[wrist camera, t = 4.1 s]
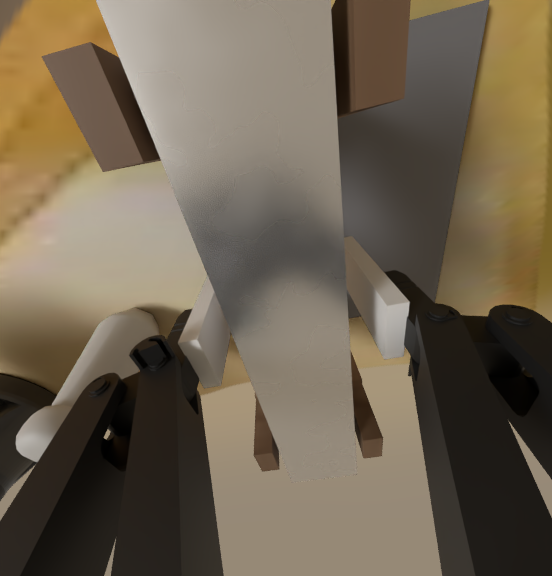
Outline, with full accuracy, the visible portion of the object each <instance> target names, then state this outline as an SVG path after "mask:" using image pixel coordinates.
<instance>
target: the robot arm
mask: <svg viewBox="0 0 552 576" xmlns="http://www.w3.org/2000/svg"><path fill="white" fill-rule="evenodd" d="M344 247H345V265H346V283H347V290H348V292H349V294H350V296H351V298H352V300H353V301H354V303H355V305H356V307H357V309H358V311H359V313H360V315H361V316H362V318H363V320H364V322H365V324H366V326H367V328H368V330H369V332H370V333H371V335H372V337H373V339H374V341H375V343H376V345H377V347H378V348H379V350H380V352H381V354H382V356H383V358H384V360H385V359H391V358H397V357H403V356H404V349H405V347H406V349H407V350H408V352H409V353H410V355H411V358H410V365H409V374H408V376H411V375H412V381H413V387H414V394H415V400H416V406H417V413H418V420H419V426H420V433H421V439H422V445H423V452H424V459H425V465H426V471H427V478H428V485H429V491H430V498H431V504H432V511H433V517H434V524H435V530H436V537H437V543H438V550H439V556H440V563H441V569H442V576H552V518H551V516H550V513H549V511H548V509H547V507H546V504H545V502H544V500H543V498H542V495H541V493H540V491H539V489H538V487H537V484H536V482H535V480H534V478H533V475H532V473H531V471H530V469H529V466H528V464H527V462H526V459H525V457H524V455H523V453H522V451H521V448H520V446H519V444H518V442H517V439H516V437H515V435H514V433H513V430H512V428H511V426H510V424H509V422H510V423H511V424H512V426H513V427H514V428H515V430H516V431H517V432H518V434H519V435H520V436H521V438H522V439H523V441H524V442H525V443H526V445H527V446H528V448H529V449H530V450H531V452H532V453H533V454H534V456H535V457H536V459H537V460H538V461H539V463H540V464H541V465H542V467H543V468H544V469H545V471H546V472H547V474H548V475H549V476H550V478H551V479H552V323H551V322H550V321H548V320H547V319H546V318H544V317H543V316H542V315H540V314H539V313H537V312H535V311H533V310H531V309H528V308H525V307H521V306H516V305H499V306H495V307H493V308H492V309H491V310H490V312H489V315H488V317H486V316H465V315H460V313H459V312H458V311H457V310H455V309H454V308H452V307H450V306H447V305H444V304H437V303H434V302H433V301H432V300H431V299H430V298H429V297H428V296H427V295H426V294H425V293H424V292H423V291H422V290H421V289H420V288H419V287H417V285H416V284H415V283H414V282H412V281H411V279H410V278H409V277H408V276H407V275H406V274H404V273H401V272H399V271H397V270H392V271H387V272H383V271H382V270H381V269H380V267H379V266H378V265H377V264H376V263H375V262H374V261H373V259H372V258H371V257H370V256H369V255H368V254H367V253H366V251H365V250H364V249H363V248H362V247H361V246H360V245H359V243H358V242H357V241H356V240H355V239H354V238H353V237H352V236H350V237H345V238H344ZM230 335H231V331H230V329H229V326H228V324H227V321H226V319H225V317H224V314H223V312H222V309H221V307H220V304H219V302H218V299H217V297H216V294H215V292H214V289H213V287H212V285H211V282H210V280H209V277H208V275H207V277H206V280H205V282H204V284H203V287H202V289H201V291H200V293H199V296H198V298H197V300H196V302H195V305H194V307H193V309H189V310H185V311H184V312H183V313H182V314H181V315H180V316H179V317H178V318H177V320H176V322H175V324H174V326H173V328H172V330H171V332H170V334H169V336H168V338H167V340H166V338H165V337H164V336H162V335H154V336H151V337H148V338H146V339H144V340H142V341H141V342H139V343H138V344H137V345H136V346H135V347H134V348H133V349H132V350H131V352H130V354H129V356H130V358H131V359H132V360H133V362H134V363H135V364H136V366H137V367H138V368H139V370H140V372H138V373H135V374H133V375H131V376H128V377H126V378H123V379H121V378H120V376H119V375H118V374H116V373H107V374H104V375H102V376H100V377H98V378H96V379H95V380H93V381H92V382H91V383H90V384H89V385H87V386H86V388H85V389H84V390H83V391H82V393H81V394H80V396H79V397H78V399H77V401H76V402H75V404H74V405H73V407H72V408H71V410H70V412H69V413H68V415H67V416H66V418H65V420H64V421H63V423H62V424H61V426H60V427H59V429H58V431H57V432H56V434H55V435H54V437H53V439H52V440H51V442H50V443H49V445H48V446H47V448H46V450H45V451H44V453H43V454H42V456H41V457H40V459H39V461H38V462H35V461H32V460H30V459H28V458H26V457H24V456H22V455H21V454H20V453H19V452H18V450H17V449H16V435H17V434H18V432H19V431H20V429H21V427H22V426H23V424H24V423H25V422H26V421H27V420H28V419H29V418H30V417H31V416H32V415H33V414H34V413H36V412H37V411H38V410H40V409H42V408H44V407H45V406H51V405H52V403H53V402H54V400H55V398H56V396H55V395H53V394H52V393H50V392H49V391H47V390H45V389H43V388H41V387H39V386H37V385H34V384H32V383H29V382H27V381H24V380H21V379H17V378H14V377H10V376H5V375H0V501H1V499H2V498H3V497H4V495H5V494H6V493H7V491H8V490H9V489H10V488H11V486H13V484H14V483H16V482H17V481H18V480H19V479H20V478H21V477H22V476H23V475H24V474H26V473H27V472H28V471H29V470H30V469H31V468H32V467H33V466H34V465H35V467H34V469H33V470H32V472H31V473H30V475H29V477H28V478H27V480H26V481H25V483H24V485H23V486H22V488H21V489H20V491H19V493H18V494H17V495H16V497H15V499H14V500H13V502H12V503H11V505H10V507H9V508H8V510H7V511H6V513H5V515H4V516H3V518H2V519H1V521H0V576H104V574H105V571H106V568H107V564H108V561H109V558H110V555H111V552H112V548H113V545H114V542H115V539H116V543H115V550H114V558H113V564H112V571H111V576H223V568H222V560H221V553H220V545H219V537H218V529H217V522H216V514H215V506H214V498H213V491H212V483H211V475H210V467H209V460H208V453H207V444H206V436H205V429H204V421H203V414H202V406H201V398H200V395H199V392H198V391H197V386H198V383H199V381H200V382H201V384H202V386H203V388H210V387H216V386H221V383H222V378H223V373H224V367H225V362H226V357H227V351H228V346H229V341H230ZM508 420H509V421H508ZM107 429H109V430H110V431H111V433H110V435H109V437H108V438H107V440H106V439H104V435H105V433H106V431H107Z"/></svg>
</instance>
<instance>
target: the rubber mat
mask: <svg viewBox="0 0 552 576" xmlns="http://www.w3.org/2000/svg"><path fill="white" fill-rule="evenodd" d="M488 6H489V0H484V1H481V2H477V3H473V4H469V5H466V6H462V7H458V8H455V9H451V10H447V11H443V12H440V13H436V14H432V15H428V16H425V17H421V18H417V19H414V20H410V21H409V33H408V48H407V64H406V80H405V96H404V99H401V100H398V101H394V102H391V103H388V104H384V105H381V106H377V107H374V108H371V109H367V110H364V111H361V112H357V113H354V114H351V115H348V116H344V117H341V118H337V122H338V140H339V158H340V176H341V194H342V212H343V229H344V238H345V237H350V236H352V237H353V238H354V239H355V240H356V241H357V242H358V243H359V245H360V246H361V247H362V248H363V249H364V250H365V251H366V253H367V254H368V255H369V256H370V257H371V258H372V259H373V261H374V262H375V263H376V264H377V265H378V266H379V267H380V269H381V270H382V271H383V272H387V271H392V270H397V271H399V272H401V273H404V274H406V275H407V276H408V277H409V278H410V279H411V281H412V282H414V283H415V284H416V285H417V287H419V288H420V289H421V290H422V291H423V292H424V293H425V294H426V295H427V296H428V297H429V298H430V299H431V300H432V301H433V302H434V303H435V299H436V293H437V288H438V282H439V277H440V271H441V266H442V260H443V255H444V249H445V244H446V238H447V232H448V227H449V221H450V216H451V210H452V205H453V199H454V194H455V188H456V183H457V177H458V172H459V166H460V161H461V155H462V150H463V144H464V138H465V133H466V127H467V122H468V116H469V111H470V105H471V100H472V94H473V89H474V83H475V78H476V72H477V67H478V61H479V56H480V50H481V44H482V39H483V33H484V28H485V22H486V17H487V11H488ZM347 301H348V317H349V318H354V317H359V316H361V315H360V313H359V311H358V309H357V307H356V305H355V303H354V301H353V300H352V298H351V296H350V294H349V292H348V290H347Z"/></svg>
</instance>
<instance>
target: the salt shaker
mask: <svg viewBox="0 0 552 576" xmlns="http://www.w3.org/2000/svg"><path fill="white" fill-rule="evenodd" d="M154 335H159V327H158V325H157V323H156V321H155V319H154V317H153V315H152V314H150V313H148V312H145V311H142V310H140V309H137V308H132V309H129V310H126V311H123V312H119V313H116V314H112V315H110V316H109V317H107V318H106V319H104V320H103V321H102V322H100V323H99V324H98V326H97V328H96V330H95V331H94V333H93V335H92V337H91V338H90V340H89V342H88V343H87V345H86V347H85V349H84V350H83V352H82V354H81V355H80V357H79V359H78V361H77V362H76V364H75V366H74V367H73V369H72V371H71V373H70V374H69V376H68V378H67V379H66V381H65V383H64V385H63V386H62V388H61V390H60V391H59V393H58V395H57V397H56V398H55V400H54V402H53V403H52V405H51V406H45V407H44V408H42V409H40V410H38V411H37V412H36V413H34V414H33V415H32V416H31V417H30V418H29V419H28V420H27V421H26V422H25V423H24V424H23V426H22V427H21V429H20V431H19V432H18V434H17V435H16V449H17V450H18V452H19V453H20V454H21V455H22V456H24V457H26V458H28V459H30V460H32V461H35V462H38V461H39V459H40V457H41V456H42V454H43V453H44V451H45V450H46V448H47V446H48V445H49V443H50V442H51V440H52V439H53V437H54V435H55V434H56V432H57V431H58V429H59V427H60V426H61V424H62V423H63V421H64V420H65V418H66V416H67V415H68V413H69V412H70V410H71V408H72V407H73V405H74V404H75V402H76V401H77V399H78V397H79V396H80V394H81V393H82V391H83V390H84V389H85V388H86V386H87V385H89V384H90V383H91V382H92V381H93V380H95V379H96V378H98V377H100V376H102V375H104V374H107V373H116V374H118V375H119V376H120V378H121V379H123V378H126V377H128V376H131V375H133V374H135V373H137V372H138V371H139V368H138V367H137V366H136V364H135V363H134V362H133V360H132V359H131V358H130V356H129V354H130V352H131V350H132V349H133V348H134V347H135V346H136V345H137V344H138V343H139V342H141V341H142V340H144V339H146V338H148V337H151V336H154Z"/></svg>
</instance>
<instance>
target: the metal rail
mask: <svg viewBox="0 0 552 576" xmlns="http://www.w3.org/2000/svg"><path fill="white" fill-rule="evenodd" d="M96 1H97V4H98V6H99V9H100V11H101V14H102V16H103V19H104V21H105V24H106V26H107V28H108V31H109V33H110V36H111V38H112V41H113V43H114V46H115V48H116V51H117V53H118V56H119V58H120V60H121V63H122V65H123V68H124V70H125V73H126V75H127V78H128V80H129V83H130V85H131V88H132V90H133V92H134V95H135V97H136V100H137V102H138V105H139V107H140V110H141V112H142V115H143V117H144V120H145V122H146V124H147V127H148V129H149V132H150V134H151V137H152V139H153V142H154V144H155V147H156V149H157V152H158V154H159V157H160V159H161V161H162V164H163V166H164V169H165V171H166V174H167V176H168V179H169V181H170V184H171V186H172V189H173V191H174V193H175V196H176V198H177V201H178V203H179V206H180V208H181V211H182V213H183V216H184V218H185V221H186V223H187V225H188V228H189V230H190V233H191V235H192V238H193V240H194V243H195V245H196V248H197V250H198V253H199V255H200V257H201V260H202V262H203V265H204V267H205V270H206V272H207V275H208V277H209V280H210V282H211V285H212V287H213V289H214V292H215V294H216V297H217V299H218V302H219V304H220V307H221V309H222V312H223V314H224V317H225V319H226V321H227V324H228V326H229V329H230V331H231V334H232V336H233V339H234V341H235V344H236V346H237V349H238V351H239V353H240V356H241V358H242V361H243V363H244V366H245V368H246V371H247V373H248V376H249V378H250V381H251V383H252V385H253V388H254V390H255V393H256V395H257V398H258V400H259V403H260V405H261V408H262V410H263V413H264V415H265V418H266V420H267V422H268V425H269V427H270V430H271V432H272V435H273V437H274V440H275V442H276V445H277V447H278V450H279V452H280V454H281V457H282V459H283V462H284V464H285V467H286V469H287V472H288V474H289V477H290V479H291V481H292V482H301V481H309V480H317V479H325V478H334V477H342V476H350V475H357V463H356V462H357V461H356V443H355V425H354V408H353V390H352V372H351V354H350V336H349V318H348V301H347V283H346V265H345V247H344V229H343V212H342V194H341V176H340V158H339V140H338V122H337V105H336V87H335V69H334V51H333V33H332V16H331V0H96Z"/></svg>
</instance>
